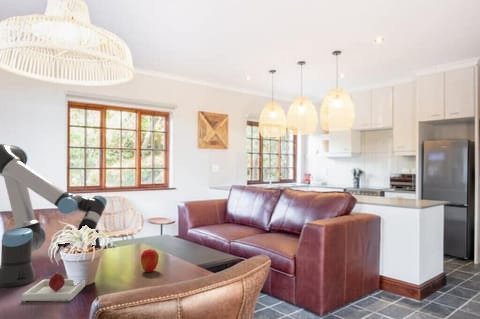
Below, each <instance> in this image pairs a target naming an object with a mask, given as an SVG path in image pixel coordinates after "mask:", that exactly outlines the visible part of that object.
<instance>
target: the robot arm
mask: <svg viewBox="0 0 480 319" xmlns="http://www.w3.org/2000/svg"><path fill="white" fill-rule="evenodd" d="M27 162H28V155H27V152H26V151H25V150H24V149H23V148H21V147H18V146H16V145H9V144H4V143H0V177H3V179H4V180H3V181H4V184H5V188H6V191H7V196H8V200H9V203H10V208H11V213H12V216H13V220H14V226H13V227H12V229H9V230H6V231H5V232H4V233H3V234H2V238H1V253H0V255H1V256H0V288H12V287H13V288H14V287H18V286H24V285H27V284H30V283H32V282H34V281H35V280H36V273H35V270H34V267H33V264H32V255H33V252H35V251H36V250H38V249H40V248H41V247H42V246H43V245H44V244H45V242H46V240H47V233H46V231H45V229H44V228H42V226H41V223H40V220H37V219H36V217H35V213H34V209H33V205H32V200H31V197H30V192H29V189H30V190H31V191H33V192H34V193H35V194H36V195H38V196H40V197H41V198H43V199H45V200H46V201H48V202H49V203H51V204H52V205H54V206H55V207H56V208H57V209H58V210H59V212H60V213H61V214H64V215H68V214H72V213H74V212H77V211H79V212H84V215H83V217H82V219H81V221H80V223H79V225H78V227H77V230H80V229H81V228H82V226H85V225H87V226H88V227H89V228H91V229H95V231H96V232H97V233H100V231H99V229H97V226H98V224H99V221H100V219H101V217H102V215H103V213H104V210H105V209H106V206H107V203H108V202H107V199H106V198H105V197H104V196H102V195H94V196H93V197H92V198H90V197H86V196H83V195H78V194H76V193H70V192H68V193H67V192H66V191H65V190H64V189H61V188H60V187H59V186H57V185H56V184H54V183H53V182H51V181H50V180H48V179H47V178H46V177H44V176H42V175H41V174H39V173H38V172H37V171H35V170H33V169H32V168H30V167H29V166H28V165H27ZM72 229H73V228H71V229H70V230H72ZM94 241H95V244H94V245H92V246H91V245H90V246H91V248H92V247H93V246H95V248H100V249H101V244H100V237H99V238H97V239H96V240H95V239H94ZM70 245H71V244H70V243H65V244H58V245H57V244H56V247H58V249H57V250H56V255H55V257H54V260H55V262H56V263H59V262H60V260H61V258H62V256H61V255H60V251H61V250H63V249H65V248H66V247H68V246H70Z"/></svg>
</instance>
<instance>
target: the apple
mask: <svg viewBox="0 0 480 319" xmlns="http://www.w3.org/2000/svg"><path fill="white" fill-rule="evenodd" d="M159 257H160V256H159V253H158V252H157V250H155V249H146V250H144V251H143V252H142V254H141V256H140V264H141V267H142V270H143V271H145V273H151V272H153V271H155V270H156V268H157V266H158V264H159Z"/></svg>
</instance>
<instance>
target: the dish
mask: <svg viewBox="0 0 480 319" xmlns="http://www.w3.org/2000/svg"><path fill="white" fill-rule="evenodd" d="M50 279H51V278H50ZM50 279H42V280H41V281H39V282H38V283H37V284H35V285H33V286H32V287H31V288H30V289H28V290H26V291H25V292H23V293H21V302H22V301H53V302H71V301H72V300H73V299H74V298H75V297H76V296H77V295H78V294H79V293H80V292H81V291H82V290H83V289H84V288H85V287H86V286H85V280H81V281H80V282H79V283H78V284H77V285H74V283H73V282H74V281H73V280H70V279H71V278H64V280H65V282H64V285H63V287H62V288H61V289H59V290H58V291H56V292H55V291H54V290H52V289H51V288H50V287H49V281H50ZM53 302H52V303H53Z"/></svg>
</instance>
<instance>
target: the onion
mask: <svg viewBox="0 0 480 319" xmlns="http://www.w3.org/2000/svg"><path fill="white" fill-rule="evenodd" d="M64 279H65V278H64V276H63V275H62V274H61V273H59V272H58V271H55V274H54V275H52V276H51V278H50V281H49V287H50V288H51V289H52V290H54V291H55V292H56V291H58V290H59V289H61V288H62V287H63V285H64V282H65V280H64Z"/></svg>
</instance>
